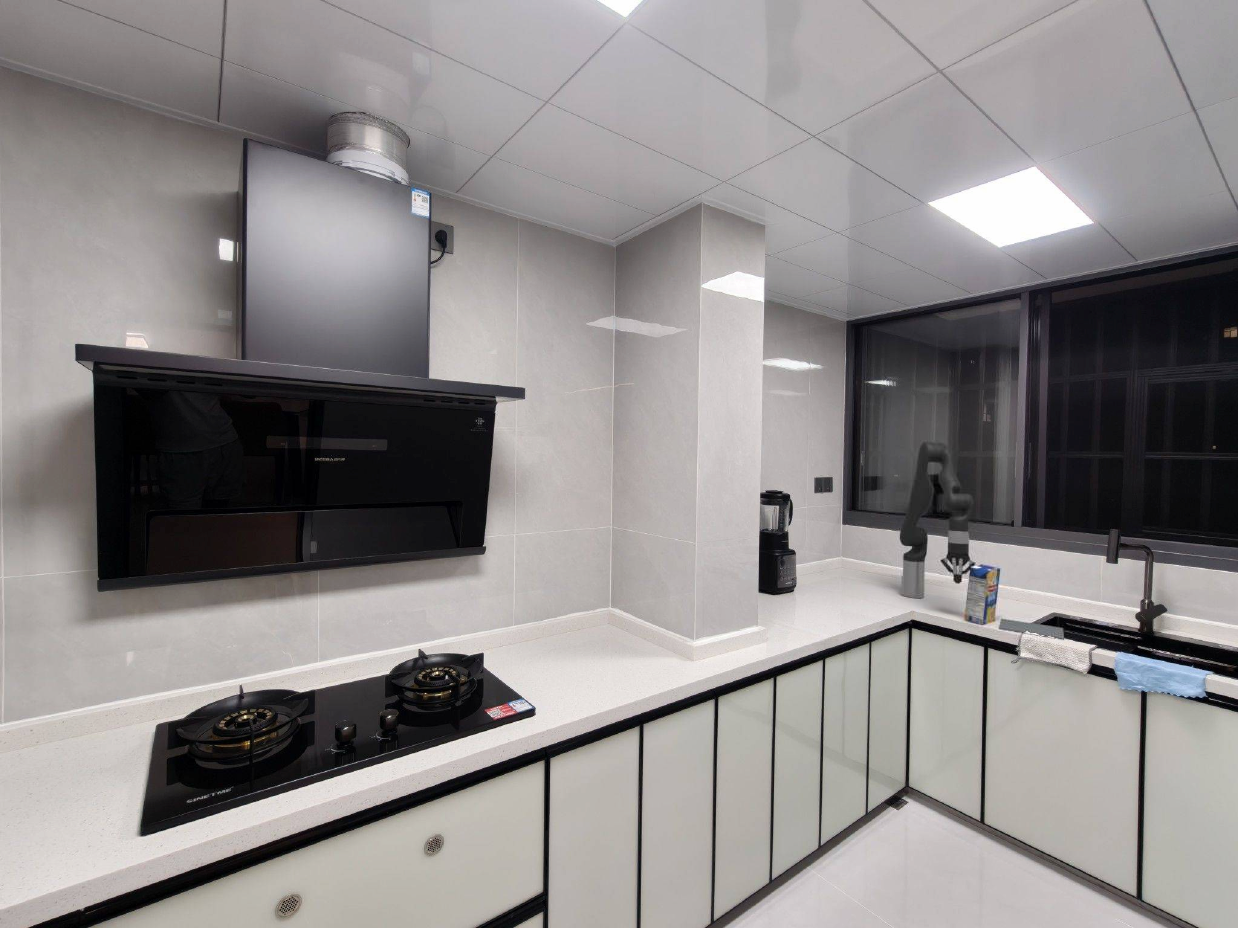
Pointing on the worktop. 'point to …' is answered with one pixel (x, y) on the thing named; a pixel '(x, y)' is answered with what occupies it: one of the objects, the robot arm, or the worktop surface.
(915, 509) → the robot arm
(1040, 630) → the mat
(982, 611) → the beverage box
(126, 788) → the worktop surface
